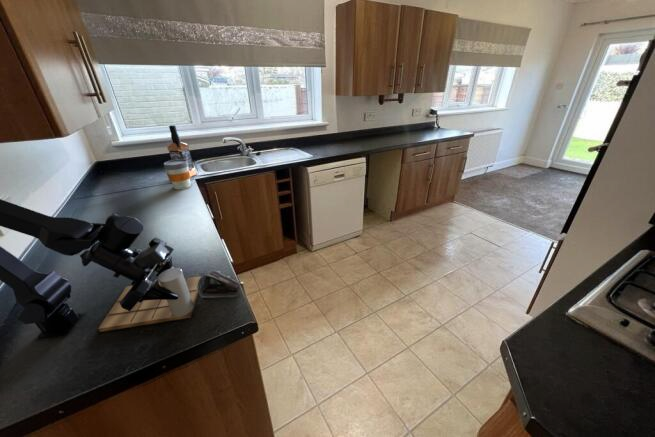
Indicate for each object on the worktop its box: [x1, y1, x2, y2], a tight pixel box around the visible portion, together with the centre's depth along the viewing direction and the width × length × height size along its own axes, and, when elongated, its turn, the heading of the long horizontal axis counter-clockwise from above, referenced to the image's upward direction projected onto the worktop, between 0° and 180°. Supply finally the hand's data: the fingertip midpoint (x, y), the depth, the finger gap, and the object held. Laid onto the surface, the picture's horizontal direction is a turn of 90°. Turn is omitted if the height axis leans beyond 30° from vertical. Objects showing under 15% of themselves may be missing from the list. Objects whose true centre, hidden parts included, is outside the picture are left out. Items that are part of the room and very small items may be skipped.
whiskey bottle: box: [166, 124, 198, 178], centre depth 171 cm, size 10×10×32 cm
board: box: [97, 275, 201, 333], centre depth 77 cm, size 22×16×1 cm
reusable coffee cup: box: [163, 159, 192, 190], centre depth 157 cm, size 13×12×15 cm
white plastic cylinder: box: [157, 267, 195, 317], centre depth 70 cm, size 5×5×12 cm
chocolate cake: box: [197, 269, 240, 299], centre depth 81 cm, size 10×7×12 cm
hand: (181, 290), depth 70 cm, fingers closed on white plastic cylinder, 5 cm apart
